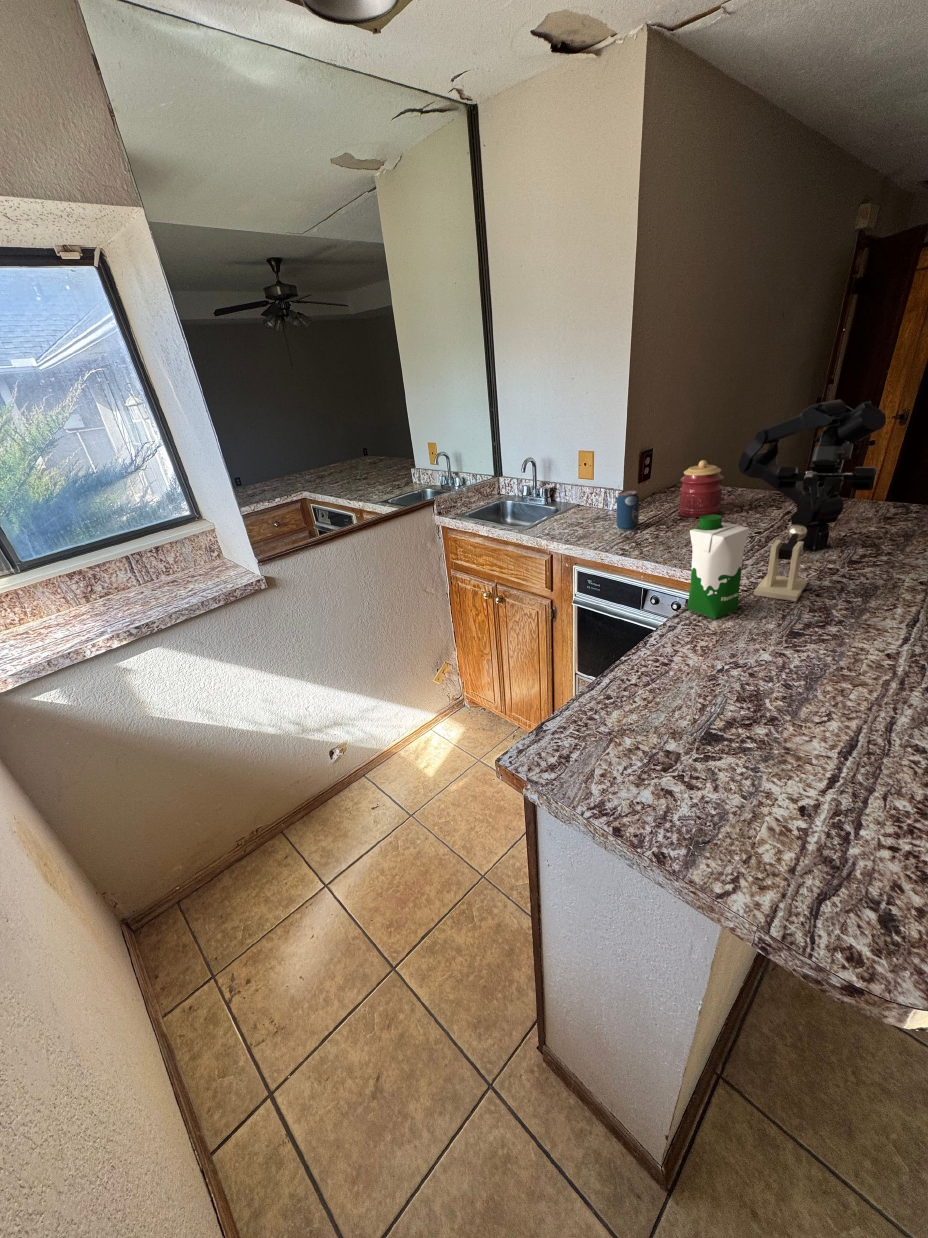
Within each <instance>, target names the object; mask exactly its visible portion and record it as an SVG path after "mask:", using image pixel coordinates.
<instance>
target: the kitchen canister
mask: <svg viewBox="0 0 928 1238" xmlns="http://www.w3.org/2000/svg"><path fill="white" fill-rule="evenodd" d="M721 471H722V468H720V467H718V466H717V465H715V464H708V461H707V460H705V459H701V460H700V461H699V462H698V465H694V466H693V465H692V466H690V467H688V469H686V470H684V471H683V474H684V476H682V477H681V478H680V482H681V487H680V497H679V506H678V507H679V508H678V510H679V514H680V515H681V516H683V517H689V518H700V517H701V516H703V515H719V513H720V512H721V509H722V493H723V488H724V487H723V485H722V481H723V480H724V478H725V477H724V475H723V474H721Z"/></svg>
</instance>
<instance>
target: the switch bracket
mask: <svg viewBox="0 0 928 1238" xmlns="http://www.w3.org/2000/svg"><path fill="white" fill-rule="evenodd" d="M782 542H783V540H782V539H776V540H775V541H774V542H773V544H771V546H770V547H769V560H768V566H767V567H768V568H767V574H766V575H765V576H764V578H763V579H762V580H761V581H760V583H759V584H758V585H757V586H756V587H755V589H754V591H753V596H759V597H765V598H771V599H777V600H779V599H780V600H785V601H792V602H797V601H798V599H799V598H800V596H801V594H802V593H803V591H804V590H805V588H806V587H807V584H808V579H806V578H799V573H800V566H801V560H802V557H803V556H804V553H805V552H804V551H805V550H804V549H803V544H804V542H802V541H798V542H797V544H796V545H795V546H794V548H793V553H792V557H791V559H790V567H789V572H788V576H781V575H778V569H779V562H780V559H778V556H779V549H780V547H781V546H782V544H783V543H782Z"/></svg>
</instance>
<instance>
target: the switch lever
mask: <svg viewBox="0 0 928 1238" xmlns="http://www.w3.org/2000/svg"><path fill="white" fill-rule="evenodd" d="M806 534H807V529H806V527H805V526H803V525H800V524H796V525H793V524H792V525H791V526H790V527H789V528H788V529H787V536H788V538H789V539H788V541H787V543H786V542H785V543H781V547H780V549H779V556H778V559H779V560H783V561H791V559H792V553H793V548H794V544H795V542H796V541H797V540H801V539H803V538H804V537H805V536H806Z"/></svg>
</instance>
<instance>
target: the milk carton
mask: <svg viewBox="0 0 928 1238" xmlns="http://www.w3.org/2000/svg"><path fill="white" fill-rule="evenodd" d="M749 532H750V527H749V526H742V525H738V524H736V523H729V522H723V516H722V515H719V514H716V515H703V516H701V517H699V523H698V526H697V527H694V528H693V529H690V530H689V535H690V542H691V548H692V554H691V555H692V556H691V569H690V571H691V572H690V584H689V585H690V587H689V593H688V600H687V607H686V609H687V610H689V611H692V612H695V613H698V614H701V615H703V616H705V617H709V618H711V619H714V620H717V619H720V618H722V617H724V616H727V615H728V614H730V613H732V612H735V611H736V610H739V602H740V601H739V599H740V586H741V577H742V570H743V561H744V553H745V547H746V543H747V539H748V536H749Z"/></svg>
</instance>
